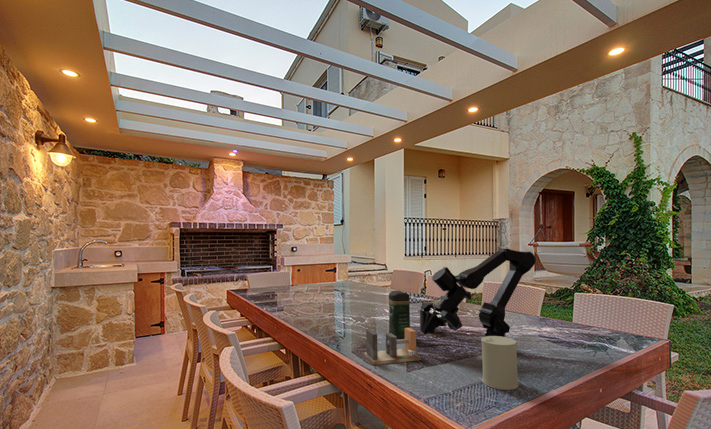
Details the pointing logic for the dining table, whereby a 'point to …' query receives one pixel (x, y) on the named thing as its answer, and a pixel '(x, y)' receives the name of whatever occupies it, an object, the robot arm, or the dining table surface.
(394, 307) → the coffee jar
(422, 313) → the supplement bottle
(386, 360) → the wooden base with posts
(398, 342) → the plunger
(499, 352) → the can
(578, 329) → the dining table surface
